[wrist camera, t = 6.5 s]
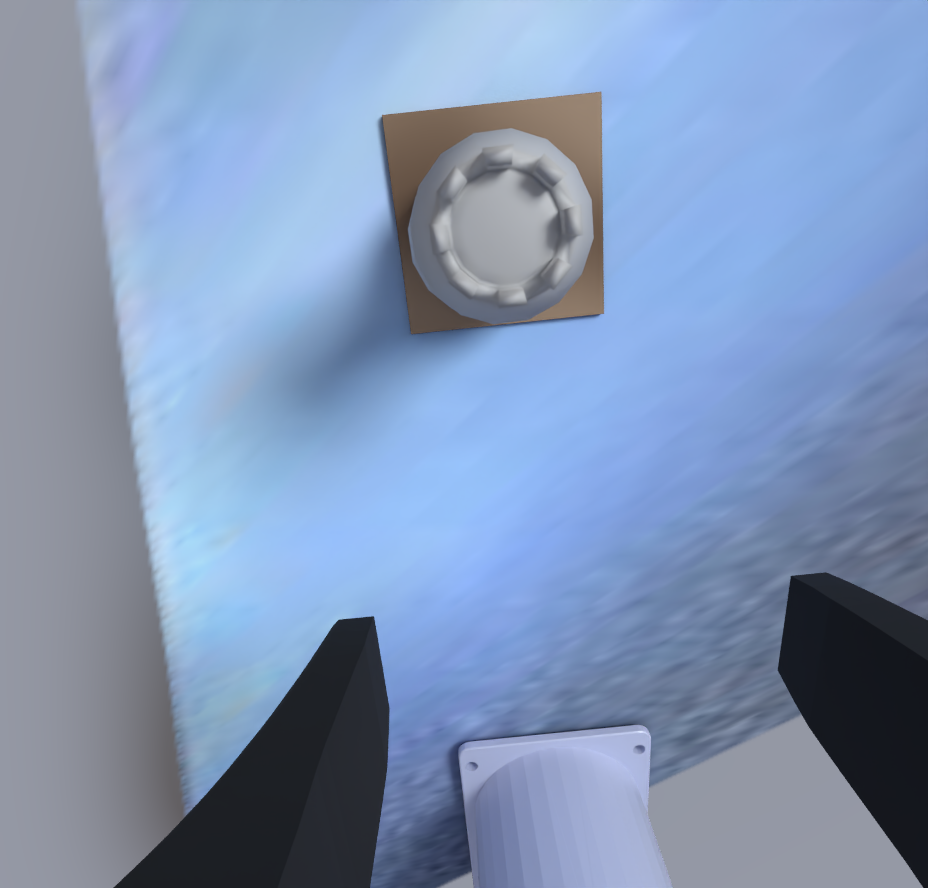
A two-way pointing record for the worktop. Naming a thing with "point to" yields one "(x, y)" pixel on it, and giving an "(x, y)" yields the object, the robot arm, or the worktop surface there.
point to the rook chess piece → (501, 226)
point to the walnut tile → (435, 131)
